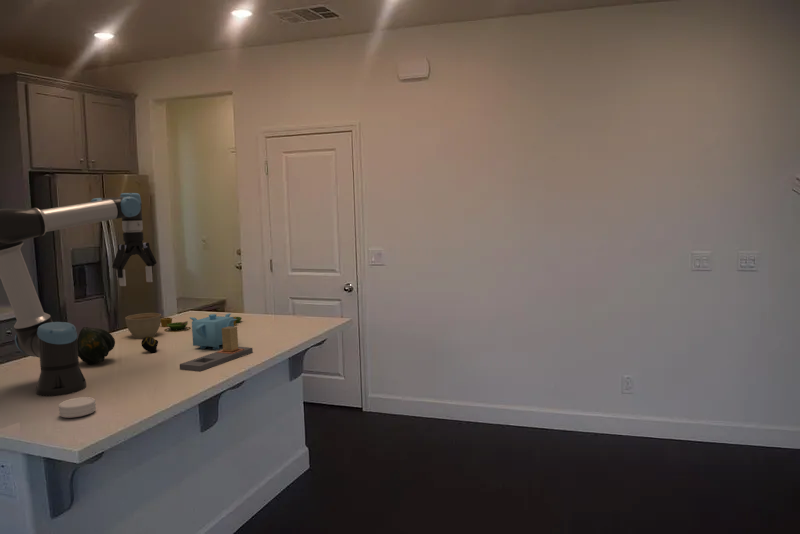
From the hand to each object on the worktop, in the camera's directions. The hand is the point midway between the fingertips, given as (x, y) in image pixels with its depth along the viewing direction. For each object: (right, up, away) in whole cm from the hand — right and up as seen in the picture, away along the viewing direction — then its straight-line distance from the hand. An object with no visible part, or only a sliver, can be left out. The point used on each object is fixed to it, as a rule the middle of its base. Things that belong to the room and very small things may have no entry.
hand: (136, 284), depth 246 cm
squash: (-16, -32, +1) cm, 36 cm away
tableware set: (+1, -26, +74) cm, 78 cm away
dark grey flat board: (+33, -31, 0) cm, 45 cm away
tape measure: (-1, -30, +18) cm, 35 cm away
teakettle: (+24, -29, +26) cm, 46 cm away
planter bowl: (-18, -28, +50) cm, 60 cm away
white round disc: (+9, -38, -61) cm, 73 cm away
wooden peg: (+36, -30, +7) cm, 48 cm away
